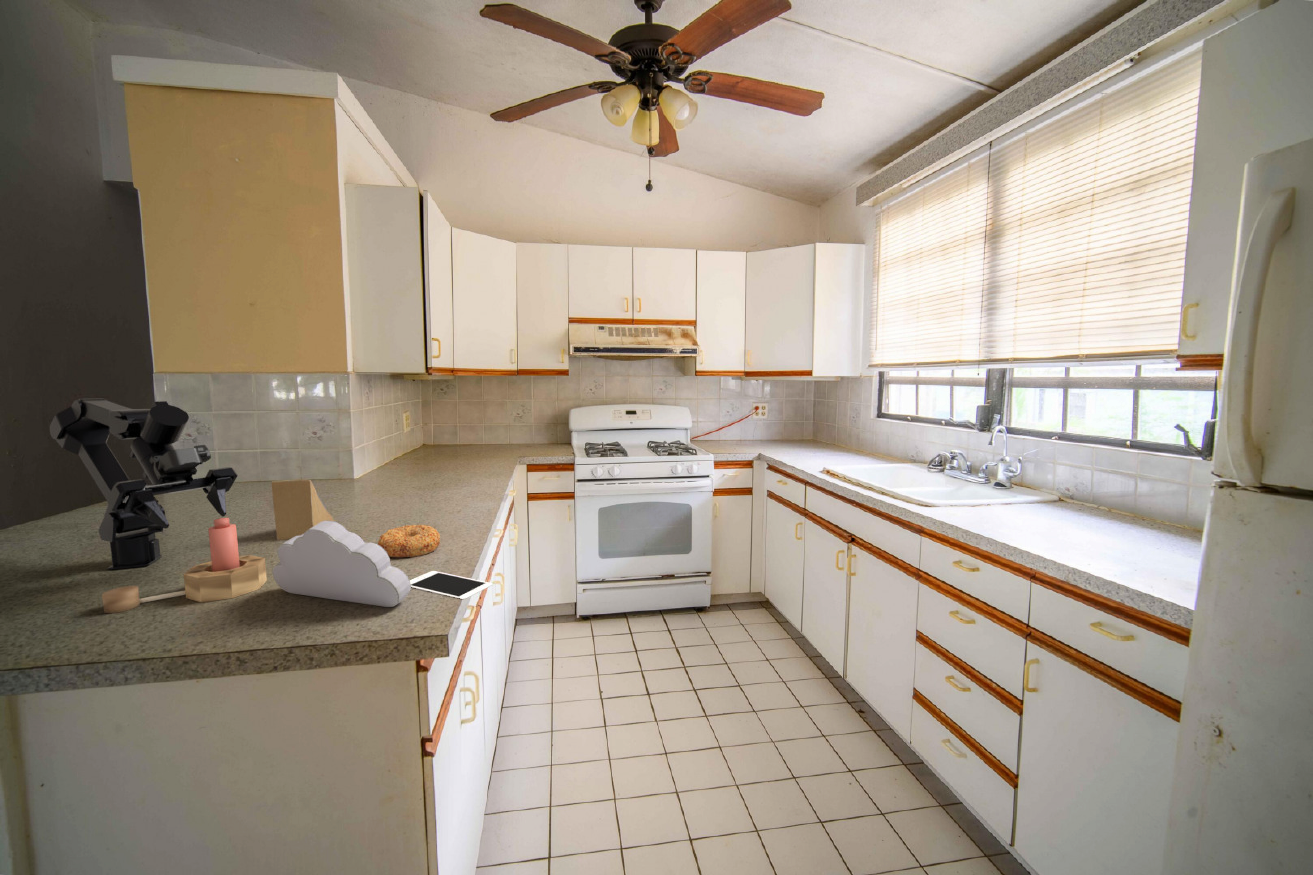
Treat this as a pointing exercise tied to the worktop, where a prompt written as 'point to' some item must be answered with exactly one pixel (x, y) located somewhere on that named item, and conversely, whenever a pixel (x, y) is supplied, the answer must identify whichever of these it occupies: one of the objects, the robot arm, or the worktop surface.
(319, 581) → the decorative item
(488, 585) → the cell phone
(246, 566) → the bead
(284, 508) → the sandwich container
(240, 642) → the worktop surface
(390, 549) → the bagel
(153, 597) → the white thin stick
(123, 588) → the small bead
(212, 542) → the pink bottle
